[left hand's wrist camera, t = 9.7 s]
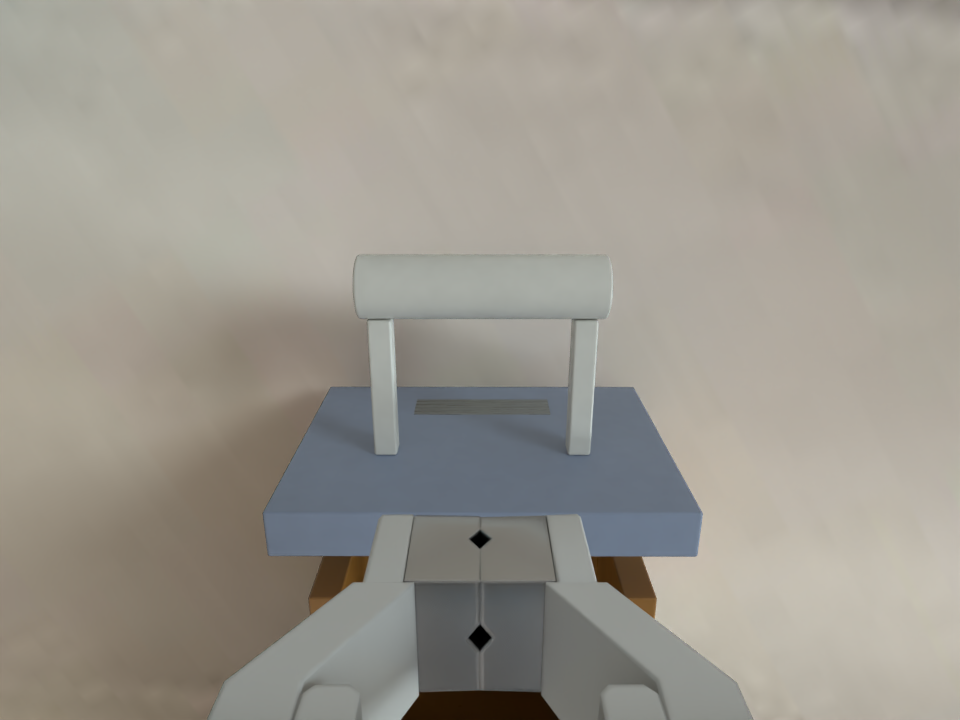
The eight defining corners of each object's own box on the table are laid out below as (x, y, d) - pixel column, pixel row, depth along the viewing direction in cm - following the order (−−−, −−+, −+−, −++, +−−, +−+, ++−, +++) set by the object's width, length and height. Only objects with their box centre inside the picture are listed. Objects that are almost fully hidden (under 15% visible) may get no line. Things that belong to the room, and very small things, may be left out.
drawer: (316, 224, 20) (231, 285, 13) (648, 225, 20) (734, 285, 13) (361, 756, 28) (321, 970, 21) (601, 756, 28) (642, 971, 21)
